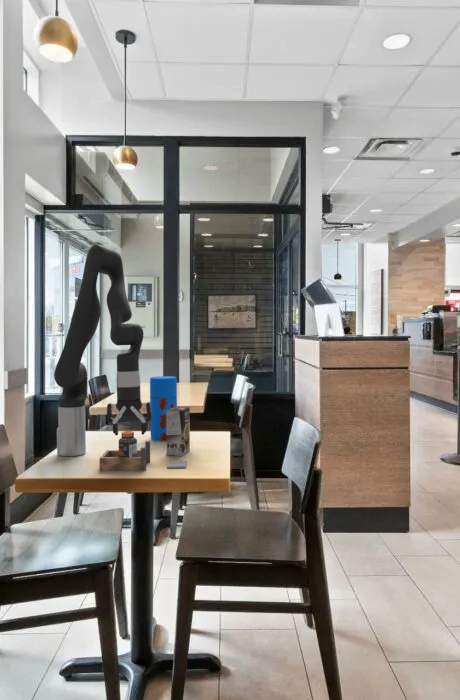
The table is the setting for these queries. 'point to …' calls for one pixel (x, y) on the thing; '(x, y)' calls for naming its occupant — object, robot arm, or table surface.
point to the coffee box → (178, 431)
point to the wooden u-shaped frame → (125, 460)
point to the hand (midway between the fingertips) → (130, 434)
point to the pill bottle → (127, 445)
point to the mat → (177, 464)
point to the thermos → (161, 404)
